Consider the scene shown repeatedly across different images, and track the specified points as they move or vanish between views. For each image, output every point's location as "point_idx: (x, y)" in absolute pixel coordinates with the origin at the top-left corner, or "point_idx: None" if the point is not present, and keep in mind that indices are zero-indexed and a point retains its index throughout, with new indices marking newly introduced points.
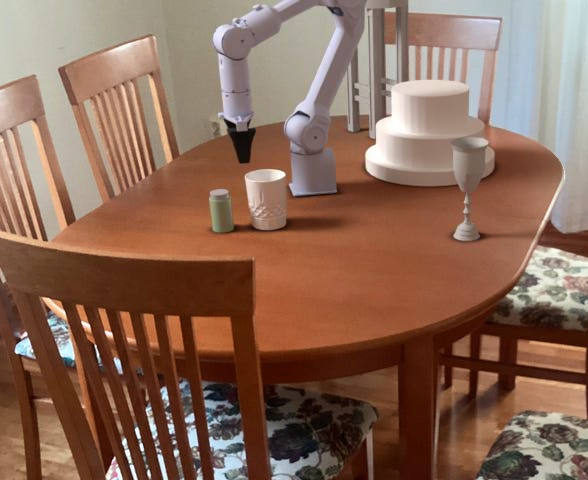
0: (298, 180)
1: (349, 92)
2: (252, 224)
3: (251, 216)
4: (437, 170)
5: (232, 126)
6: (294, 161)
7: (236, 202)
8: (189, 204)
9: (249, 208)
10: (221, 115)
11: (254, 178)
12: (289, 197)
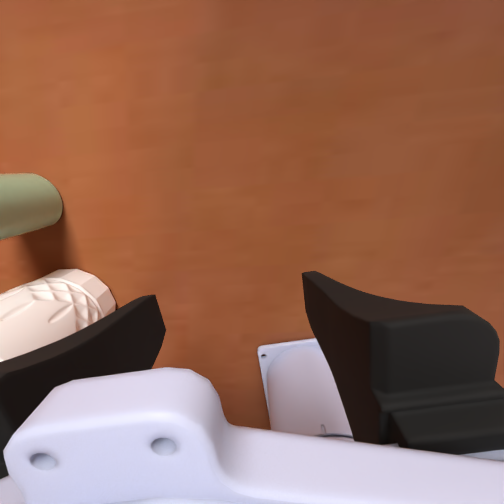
0: (277, 380)
1: None
2: (55, 271)
3: (37, 279)
4: None
5: (351, 348)
6: (291, 418)
7: (236, 219)
8: (230, 78)
9: (23, 284)
10: (23, 463)
11: (20, 343)
12: (259, 335)
